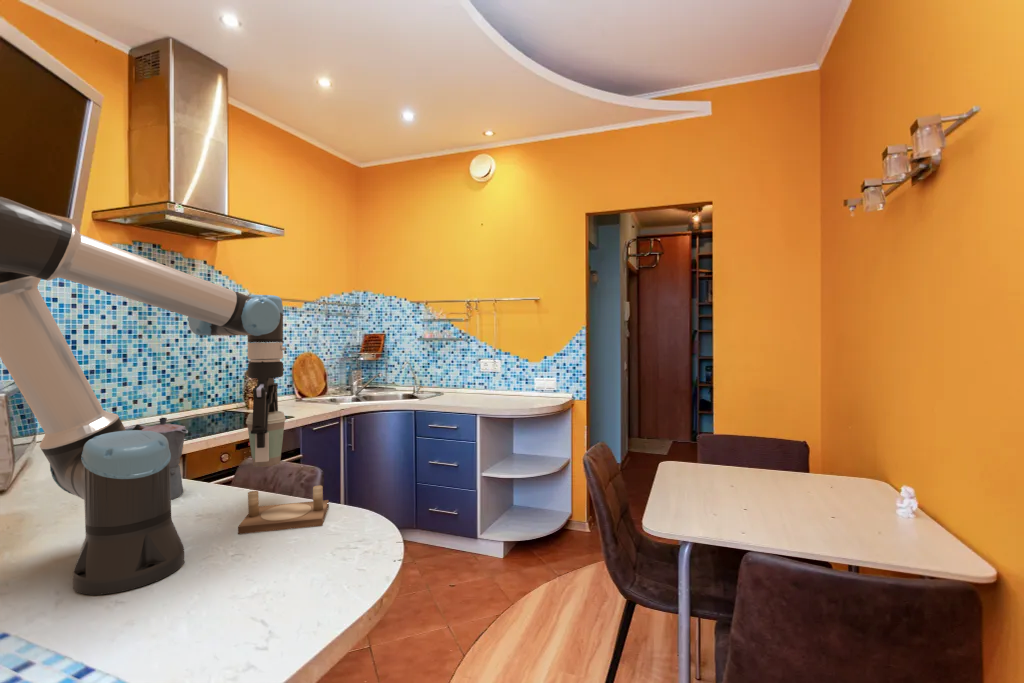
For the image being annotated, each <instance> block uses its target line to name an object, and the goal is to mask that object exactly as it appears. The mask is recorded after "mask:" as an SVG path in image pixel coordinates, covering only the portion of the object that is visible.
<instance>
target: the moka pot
mask: <svg viewBox="0 0 1024 683" xmlns="http://www.w3.org/2000/svg"><path fill="white" fill-rule="evenodd" d="M167 419H168V418H167V417H160V418H159V419H158V420H159V424H155V425H151V426H150V425H141V424H135V426H134V427H133V429H131V430H141V431H153V432H157V433H160V434H162V435H164V436H165V437H166V438H167V440H168V444H169V450H170V453H171V459H170V482H171V500H174V499H177V498H180V497H181V496H182V495H183V494H184V487H183V480H182V471H181V465H180V463H181V462H180V461H181V460H180V459H181V457H182V455H183V450H184V442H185V436H186V434H189V430H188V429H187V428H186V426H185V425H182V424H181V425H180V424H172V423H171V424H170V423H167Z"/></svg>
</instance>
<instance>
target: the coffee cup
mask: <svg viewBox="0 0 1024 683" xmlns="http://www.w3.org/2000/svg"><path fill="white" fill-rule="evenodd" d="M286 421H287V419H286V416H285V413H284V412H283V411H281V410H280V411H279V410H278V411H274V412H269V415H268V428H267V430H268V431H267V433H268V432H269V461H267V462H255V434H251V431H252V424H253V412H251V413H249V414H248V415H247V418H246V421H245V424H246V426H247V432H248V439H249V446H250V455H251V461H252V466H253V467H257V468H267V467H273V466H277V465H279V464H280V463H281V458H282V448H283V439H284V433H285V431H284V430H285V424H286ZM259 427H261V426H259Z"/></svg>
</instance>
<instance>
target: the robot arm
mask: <svg viewBox="0 0 1024 683" xmlns="http://www.w3.org/2000/svg"><path fill="white" fill-rule="evenodd" d="M59 278H60V279H63V280H67V281H70V282H73V283H77V284H79V285H83V286H87V287H90V288H94V289H96V290H100V291H103V292H106V293H109V294H113V295H117V296H120V297H123V298H125V299H130V300H133V301H136V302H139V303H142V304H146V305H148V306H153V307H156V308H158V309H162V310H166V311H170V312H172V313H176V314H178V315H182V316H185V317H187V321H188V327H189V328H190V331H191V333H193V334H195V335H197V336H208V337H211V336H217V337H218V336H220V337H221V336H225V337H226V336H244V337H245V336H246V337H247V360H249V361H250V362H248V363H247V377H248V378H250V379H257V381H256V382H257V383H256V385H255V386H254V387H253V389H252V397H253V400H252V413H253V424H252V431H251V434H255V462H267V461H269V432H268V433H267V431H268V430H267V428H268V415H269V412H274V411H279V401H278V400H279V399H278V387H279V384H278V382H275V378H277V379H278V378H282V377H283V376H284V362H283V361H282V359H283V358H284V352H283V351H286V346H283V345H284V316H285V315H284V308H283V307H284V306H283V301H282V298H281V297H280V296H278V295H272V294H251V295H246V294H244V293H241V292H237V291H235V290H232V289H230V288H227V287H225V286H222V285H219V284H216V283H213V282H211V281H208V280H205V279H203V278H200V277H197V276H194V275H192V274H189V273H186V272H184V271H181V270H178V269H175V268H174V267H171V266H168V265H165V264H162V263H159V262H157V261H155V260H151V259H149V258H146V257H143V256H140V255H138V254H135V253H133V252H130V251H127V250H124V249H122V248H120V247H116V246H114V245H112V244H109V243H106V242H104V241H101V240H98V239H95V238H92V237H89V236H87V235H84V234H81V233H80V232H79V231H78V229H77V228H76V226H75V224H73V223H71V222H68V221H65V220H62V219H61V218H58V217H56V216H52V215H50V214H47V213H45V212H42V211H40V210H39V209H35V208H34V207H33V208H32V207H30V206H27V205H25V204H22V203H20V202H17V201H14V200H13V199H12V200H11V199H10V198H6V197H3V196H0V359H1V361H2V362H3V365H4V366H5V368H6V369H7V371H8V373H9V374H10V376H11V377H12V379H13V382H14V383H15V385H16V386H17V388H18V390H19V391H20V393H21V394H22V397H23V398H24V400H25V402H26V404H27V405H28V407H29V408H30V410H31V412H32V413H33V415H34V416H35V418H36V420H37V422H38V423H39V425H40V426H41V429H42V430H43V432H44V436H43V438H42V440H41V442H40V444H39V448H40V449H41V451H42V453H43V454H44V456H45V458H46V459H47V461H48V463H49V471H50V473H51V477H52V479H53V481H54V482H55V483H56V484H57V486H58V487H59V488H61V490H63V491H64V492H67V493H68V494H71V495H73V496H75V497H78V498H80V499H82V500H83V501H84V523H85V524H84V525H85V527H84V528H85V537H84V540H83V543H82V545H81V549H80V552H79V554H78V558H77V560H76V563H75V566H74V569H73V572H72V588H73V591H75V592H76V593H79V594H83V595H91V596H92V595H93V596H94V595H95V596H97V595H98V596H99V595H108V594H115V593H121V592H125V591H129V590H133V589H138V588H141V587H144V586H146V585H150V584H152V583H155V582H157V581H160V580H162V579H164V578H166V577H169V576H170V575H172V574H173V573H174V572H176V571H177V570H179V569H180V568H182V566H183V565H184V563H185V547H184V544H183V542H182V540H181V537H180V536H179V533H178V530H177V528H176V526H175V525H174V522H173V519H172V499H171V482H170V459H171V453H170V450H169V444H168V440H167V438H166V437H165V436H164V435H162V434H160V433H157V432H153V431H141V430H132V429H130V430H129V429H127V430H126V427H125V425H124V424H123V422H122V419H120V416H119V414H117V413H113V412H110V411H106V410H104V409H103V407H102V405H101V403H100V401H99V399H98V398H97V395H96V393H95V392H94V390H93V388H92V386H91V385H90V383H89V381H88V379H87V377H86V375H85V374H84V372H83V370H82V368H81V366H80V364H79V362H78V361H77V358H76V357H75V355H74V354H73V351H72V349H71V348H70V346H69V344H68V342H67V340H66V338H65V336H64V335H63V333H62V330H61V329H60V327H59V325H58V323H57V321H56V320H55V318H54V316H53V315H52V313H51V310H50V309H49V307H48V306H47V303H46V302H45V300H44V298H43V296H42V294H41V292H40V291H39V290H40V289H38V286H39V284H40V282H41V280H43V281H52V280H55V279H59ZM259 426H261V427H259Z"/></svg>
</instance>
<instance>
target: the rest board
mask: <svg viewBox="0 0 1024 683" xmlns="http://www.w3.org/2000/svg"><path fill="white" fill-rule="evenodd" d="M323 489H324V488H323V485H314V486H313V487H312V501H303V502H292V503H291V502H290V503H279V504H271V505H270V504H269V505H260V504H259V503H260V502H259V501H260V500H259V499H260V498H259V491H258V490H252V491H249V492H247V503H248V505H247V508H248V509H247V510H248V513H247V514H246V515H245V517H244V518H243V520H242V521H241V522H240V523H239V525H238V526H237V535H243V534H252V533H253V534H255V533H261V532H272V531H273V532H274V531H282V530H291V529H292V530H293V529H302V528H311V527H312V528H313V527H320V526H321V527H322V526H323V523H324V522H325V518H326V515H327V512H328V510H329V507H330V504H327V503H330V502H329V499H325V500H324V494H323V493H324V491H323Z"/></svg>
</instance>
